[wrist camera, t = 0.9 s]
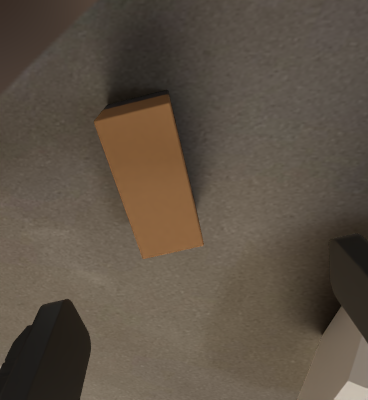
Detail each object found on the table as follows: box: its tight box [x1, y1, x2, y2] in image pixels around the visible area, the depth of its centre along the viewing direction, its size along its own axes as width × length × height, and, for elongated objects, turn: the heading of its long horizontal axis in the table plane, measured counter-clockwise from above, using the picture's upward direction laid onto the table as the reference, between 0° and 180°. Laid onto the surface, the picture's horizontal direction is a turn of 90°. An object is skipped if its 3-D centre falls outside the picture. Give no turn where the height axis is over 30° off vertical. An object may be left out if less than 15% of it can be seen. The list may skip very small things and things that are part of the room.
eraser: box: [94, 90, 204, 259], centre depth 20 cm, size 4×9×4 cm, turn 13°
